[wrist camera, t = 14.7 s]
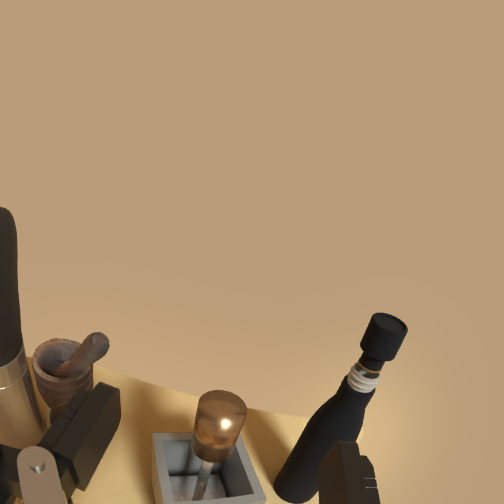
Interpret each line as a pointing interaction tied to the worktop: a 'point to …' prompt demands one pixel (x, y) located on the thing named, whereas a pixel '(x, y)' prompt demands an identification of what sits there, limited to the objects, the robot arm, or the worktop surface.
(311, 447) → the black water bottle
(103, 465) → the worktop surface
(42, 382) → the mortar and pestle
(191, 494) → the plunger
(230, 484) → the grey open box
